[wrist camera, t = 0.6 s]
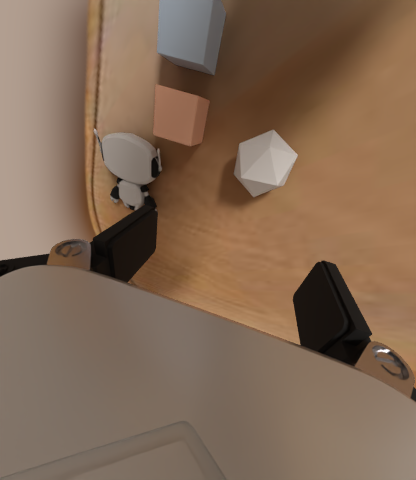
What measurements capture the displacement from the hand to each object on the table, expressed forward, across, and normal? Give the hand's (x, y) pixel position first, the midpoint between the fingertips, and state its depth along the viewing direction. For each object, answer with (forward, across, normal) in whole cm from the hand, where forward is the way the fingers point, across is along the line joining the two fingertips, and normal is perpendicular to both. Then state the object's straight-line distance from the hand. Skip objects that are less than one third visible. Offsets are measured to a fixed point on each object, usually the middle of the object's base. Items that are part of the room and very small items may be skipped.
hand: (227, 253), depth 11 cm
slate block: (+26, +12, -14) cm, 32 cm away
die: (+26, -1, -2) cm, 26 cm away
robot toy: (+26, +22, +7) cm, 35 cm away
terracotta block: (+26, +12, -5) cm, 29 cm away
